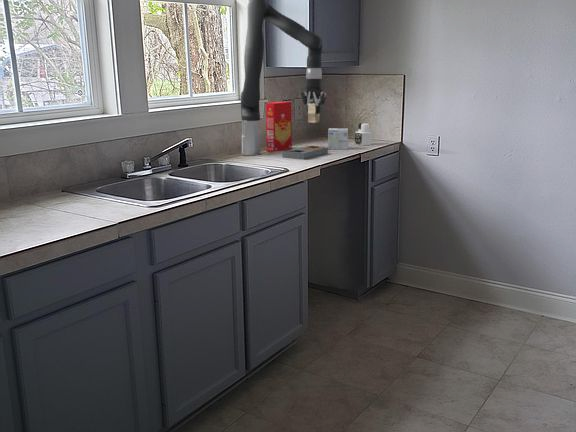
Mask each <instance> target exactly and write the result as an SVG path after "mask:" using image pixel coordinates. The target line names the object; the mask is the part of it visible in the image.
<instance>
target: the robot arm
mask: <svg viewBox="0 0 576 432" xmlns="http://www.w3.org/2000/svg"><path fill="white" fill-rule="evenodd" d="M246 7H247V11H246V12H247V29H246V36H245V45H244V58H243V60H244V61H243V64H244V67H243V68H244V82H243V88H242V91H241V94H240V113H241V114H240V115H241V155H242V156H259V155H261V149H262V148H261V114H260V113H261V112H260V111H261V110H260V100H261V92H260V91H261V90H260V88H261V87H260V85H261V82H260V81H261V74H262V69H263V62H264V50H265V43H264V42H265V40H264V31H263V27H264V24H263V23H264V21H266V22H267V23H268V22H269V23H270V24H272V25H274V26H275V27H277V29H278V30H280V31H282V32H283V33H285V34H286V35H287V36H289V37H290V38H292V39H294V40H295V41H298V42H299V43H301V44H302V45H303V46H305V47H306V48H307V57H306V71H305V88H306V90H305V91H302V92H301V93H300V95H301V98H302V102H303V104H304V105H306V106H307V108H306V111H307V113H308V104H310V103H313V101H314V103H316V114H319V115H320V113H321V106H323V105H325V101H326V99H327V95H328V94H327V92H323V90H322V88H323V87H322V85H323V84H322V82H323V81H322V79H323V78H322V75H323V71H322V51H323V40H322V38H321V36H320V35H318V34H315V33H313V32H312V31H310V30H309V29H306V27H304V26H303V25H302V24H301V23H299V22H297V21H296V20H294V19H292V18H290V17H288V16H286V15H285V14H282V13H281V12H280V11H278V10H277V9H275V8H274V7H273V6H272V5H271V4H269V3H268V2H267V1H266V0H248V3H247V6H246Z"/></svg>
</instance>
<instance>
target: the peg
mask: <svg viewBox="0 0 576 432" xmlns="http://www.w3.org/2000/svg"><path fill="white" fill-rule="evenodd" d="M307 122H308V123H312V124H315V123H320V113H319V114H316V102H312V103H310V104H308V112H307Z"/></svg>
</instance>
